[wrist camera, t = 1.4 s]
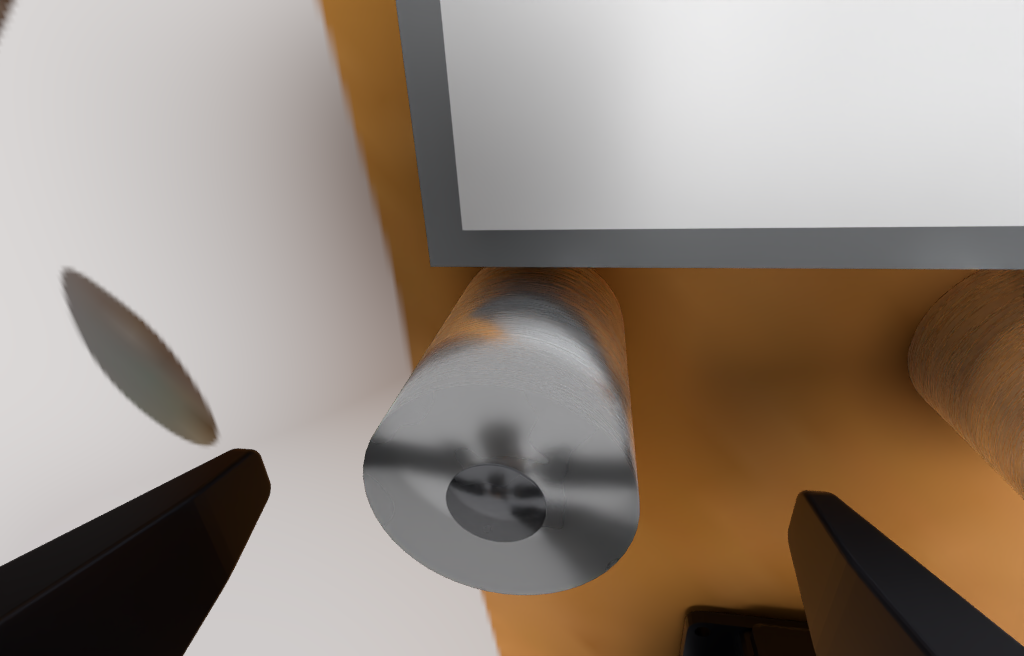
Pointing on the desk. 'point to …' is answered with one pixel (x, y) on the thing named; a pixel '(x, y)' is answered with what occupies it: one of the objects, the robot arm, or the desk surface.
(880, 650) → the robot arm
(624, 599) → the desk surface
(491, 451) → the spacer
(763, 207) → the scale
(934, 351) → the spacer
